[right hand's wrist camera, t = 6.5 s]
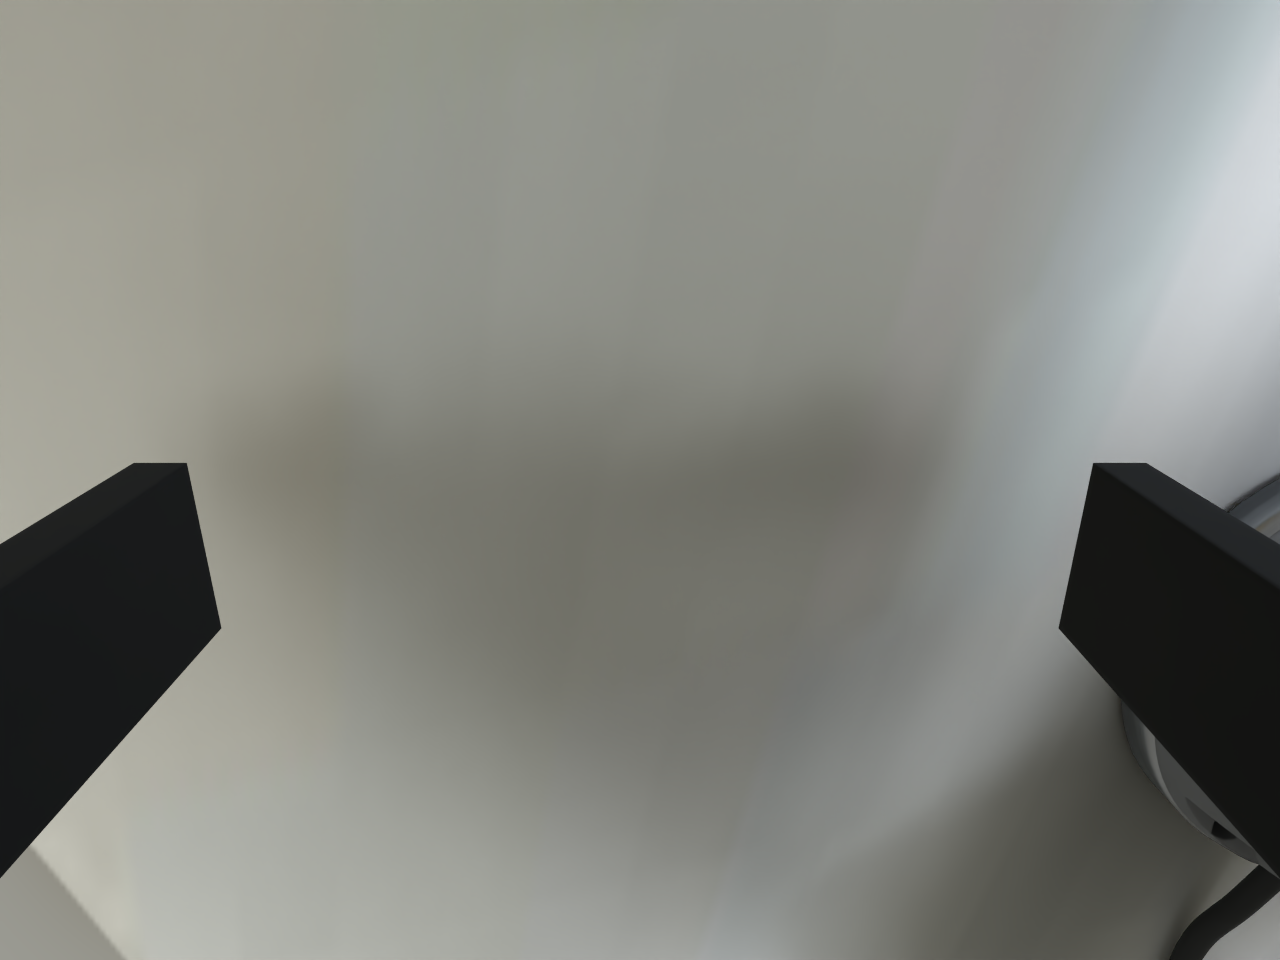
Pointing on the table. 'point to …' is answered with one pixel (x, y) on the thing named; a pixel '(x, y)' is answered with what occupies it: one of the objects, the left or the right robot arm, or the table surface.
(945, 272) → the table surface
